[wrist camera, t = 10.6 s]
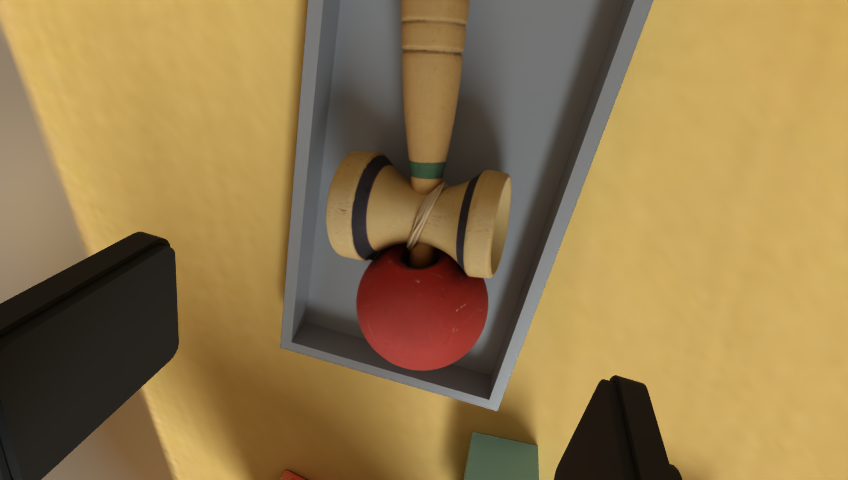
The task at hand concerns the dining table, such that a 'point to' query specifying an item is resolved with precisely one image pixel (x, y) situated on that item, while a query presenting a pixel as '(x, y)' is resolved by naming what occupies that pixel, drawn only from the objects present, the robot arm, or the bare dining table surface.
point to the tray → (453, 160)
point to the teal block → (501, 459)
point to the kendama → (422, 211)
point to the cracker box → (290, 476)
